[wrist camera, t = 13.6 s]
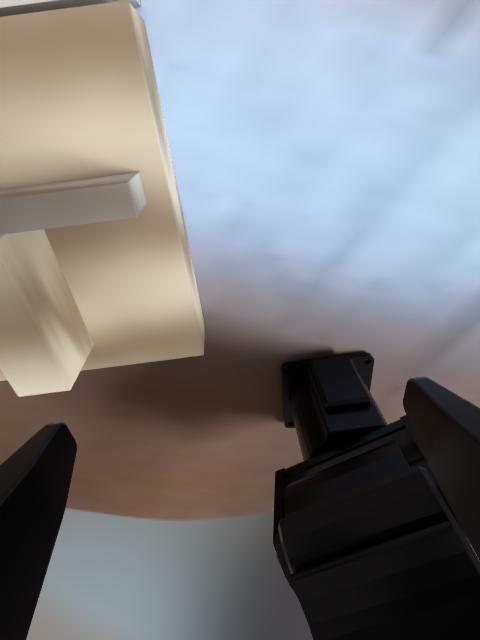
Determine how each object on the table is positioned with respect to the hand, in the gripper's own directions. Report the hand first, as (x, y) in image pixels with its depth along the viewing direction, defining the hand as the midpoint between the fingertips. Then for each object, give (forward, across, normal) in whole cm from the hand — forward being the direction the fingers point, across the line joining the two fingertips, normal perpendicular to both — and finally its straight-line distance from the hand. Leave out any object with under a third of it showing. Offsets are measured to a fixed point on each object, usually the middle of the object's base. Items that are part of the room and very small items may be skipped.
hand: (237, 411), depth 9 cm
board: (+12, +9, -2) cm, 15 cm away
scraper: (+9, +9, 0) cm, 13 cm away
